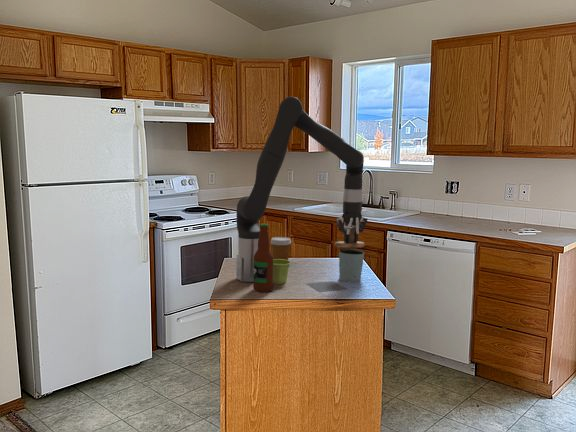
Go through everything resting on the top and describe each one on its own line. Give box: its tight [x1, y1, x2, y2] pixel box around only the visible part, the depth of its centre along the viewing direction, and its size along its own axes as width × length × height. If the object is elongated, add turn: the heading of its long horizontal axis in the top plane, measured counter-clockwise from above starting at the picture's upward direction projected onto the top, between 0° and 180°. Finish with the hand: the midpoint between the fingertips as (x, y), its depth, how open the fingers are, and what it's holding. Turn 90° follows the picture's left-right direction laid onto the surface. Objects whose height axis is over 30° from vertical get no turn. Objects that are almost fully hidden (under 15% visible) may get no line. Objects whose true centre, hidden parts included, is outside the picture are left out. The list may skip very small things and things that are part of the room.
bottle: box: [253, 223, 274, 293], centre depth 194 cm, size 7×7×25 cm
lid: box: [334, 227, 365, 249], centre depth 211 cm, size 12×12×7 cm
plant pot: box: [273, 259, 292, 285], centre depth 205 cm, size 9×9×9 cm
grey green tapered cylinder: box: [338, 248, 365, 283], centre depth 211 cm, size 10×10×12 cm
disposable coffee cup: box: [269, 236, 292, 260], centre depth 235 cm, size 10×10×12 cm
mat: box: [306, 280, 348, 293], centre depth 200 cm, size 12×12×1 cm
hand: (350, 242), depth 210 cm, fingers closed on lid, 3 cm apart
